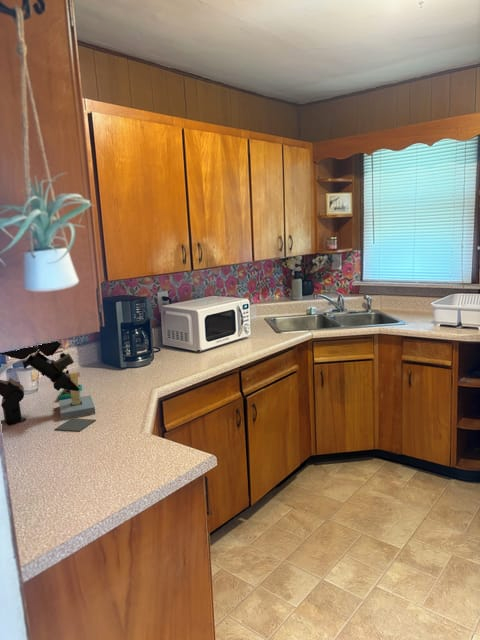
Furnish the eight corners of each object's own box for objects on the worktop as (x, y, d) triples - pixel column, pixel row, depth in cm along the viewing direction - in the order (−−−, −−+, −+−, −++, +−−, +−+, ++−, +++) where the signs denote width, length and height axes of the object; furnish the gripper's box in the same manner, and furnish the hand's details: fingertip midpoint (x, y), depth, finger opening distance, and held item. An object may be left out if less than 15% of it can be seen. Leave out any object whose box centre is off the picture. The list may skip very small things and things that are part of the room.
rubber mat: (54, 430, 166) (54, 429, 166) (71, 419, 175) (71, 418, 175) (79, 431, 163) (79, 430, 163) (95, 420, 173) (95, 419, 173)
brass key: (70, 409, 183) (66, 375, 180) (69, 407, 185) (65, 373, 183) (83, 407, 184) (79, 373, 182) (83, 404, 187) (79, 371, 185)
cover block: (61, 419, 176) (60, 413, 175) (59, 406, 190) (58, 400, 190) (95, 413, 180) (94, 407, 180) (90, 401, 195) (90, 395, 194)
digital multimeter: (58, 402, 196) (57, 396, 196) (65, 391, 211) (64, 385, 210) (76, 401, 197) (75, 394, 197) (82, 389, 212) (81, 383, 211)
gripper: (59, 353, 171) (94, 378, 177) (57, 343, 188) (89, 366, 194) (38, 378, 169) (74, 402, 175) (38, 366, 186) (71, 388, 192)
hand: (78, 388), depth 184 cm, fingers closed on brass key, 3 cm apart
